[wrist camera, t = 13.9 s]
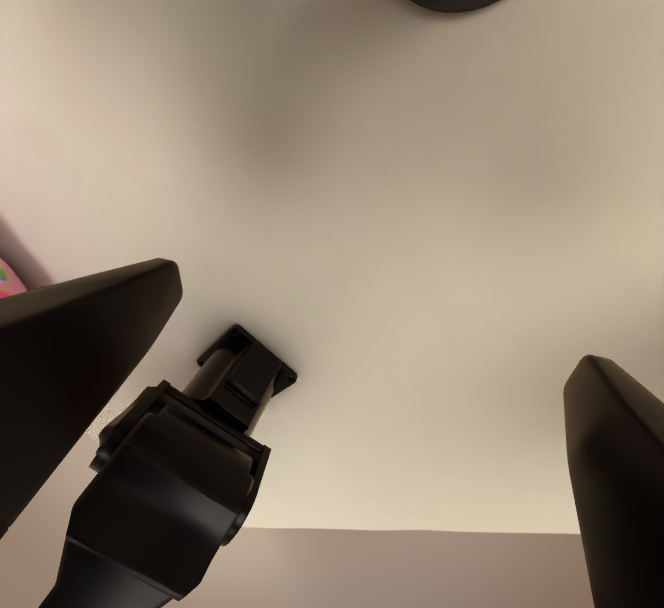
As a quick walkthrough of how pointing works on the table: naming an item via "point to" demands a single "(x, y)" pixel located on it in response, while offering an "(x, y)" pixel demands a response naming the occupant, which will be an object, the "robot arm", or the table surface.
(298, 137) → the table surface
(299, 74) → the table surface
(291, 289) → the table surface
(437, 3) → the coaster
